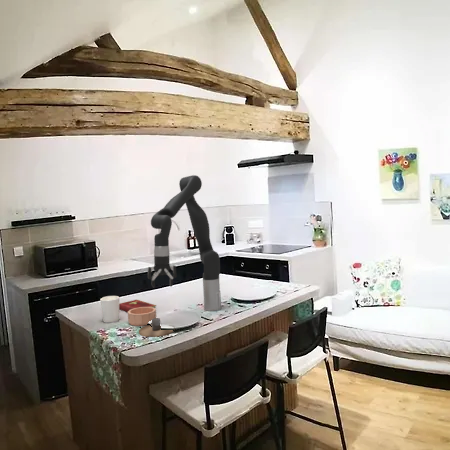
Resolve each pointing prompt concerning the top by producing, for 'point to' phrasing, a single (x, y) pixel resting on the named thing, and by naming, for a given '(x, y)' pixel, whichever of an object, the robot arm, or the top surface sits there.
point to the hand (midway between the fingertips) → (162, 287)
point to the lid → (154, 329)
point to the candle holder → (110, 308)
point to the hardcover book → (134, 305)
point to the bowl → (141, 316)
